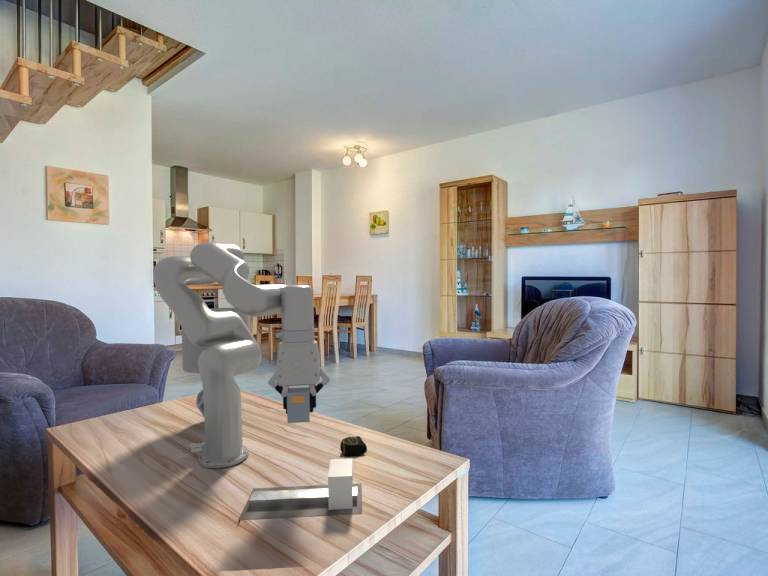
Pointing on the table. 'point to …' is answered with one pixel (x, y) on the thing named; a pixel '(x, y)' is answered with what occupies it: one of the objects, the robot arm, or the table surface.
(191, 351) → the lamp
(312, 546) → the table surface
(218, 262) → the robot arm
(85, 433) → the table surface
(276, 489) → the mounting board
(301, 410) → the block
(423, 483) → the table surface
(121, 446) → the table surface
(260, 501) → the rail
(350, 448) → the tape measure
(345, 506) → the mounted module
